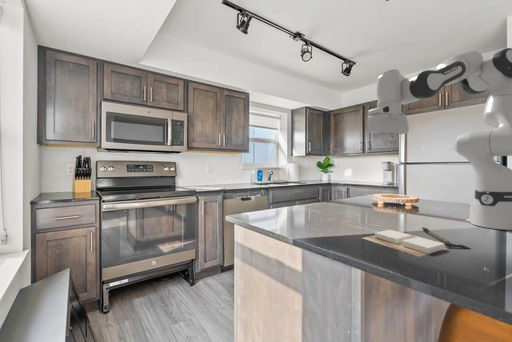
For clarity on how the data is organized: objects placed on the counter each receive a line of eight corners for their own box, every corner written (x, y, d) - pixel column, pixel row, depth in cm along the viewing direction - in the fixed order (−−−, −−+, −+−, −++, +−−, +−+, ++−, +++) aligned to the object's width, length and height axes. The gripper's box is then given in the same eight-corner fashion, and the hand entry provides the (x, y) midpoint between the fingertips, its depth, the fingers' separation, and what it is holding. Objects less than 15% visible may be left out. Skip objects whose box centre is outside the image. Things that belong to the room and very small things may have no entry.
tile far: (390, 229, 90) (374, 232, 87) (411, 235, 83) (395, 238, 80) (390, 234, 90) (374, 237, 87) (411, 240, 83) (395, 244, 80)
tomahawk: (471, 251, 73) (472, 247, 73) (445, 247, 75) (446, 244, 75) (438, 232, 94) (438, 229, 94) (418, 229, 95) (419, 226, 95)
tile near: (417, 236, 81) (401, 240, 78) (444, 243, 74) (428, 248, 70) (417, 242, 81) (401, 245, 78) (444, 249, 74) (428, 254, 70)
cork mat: (396, 231, 94) (396, 230, 94) (456, 247, 76) (456, 246, 76) (361, 239, 87) (361, 237, 87) (419, 258, 69) (419, 256, 69)
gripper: (398, 114, 109) (398, 145, 109) (364, 111, 101) (365, 144, 101) (412, 111, 103) (413, 144, 104) (378, 107, 95) (378, 143, 95)
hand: (389, 144), depth 102 cm, fingers closed
